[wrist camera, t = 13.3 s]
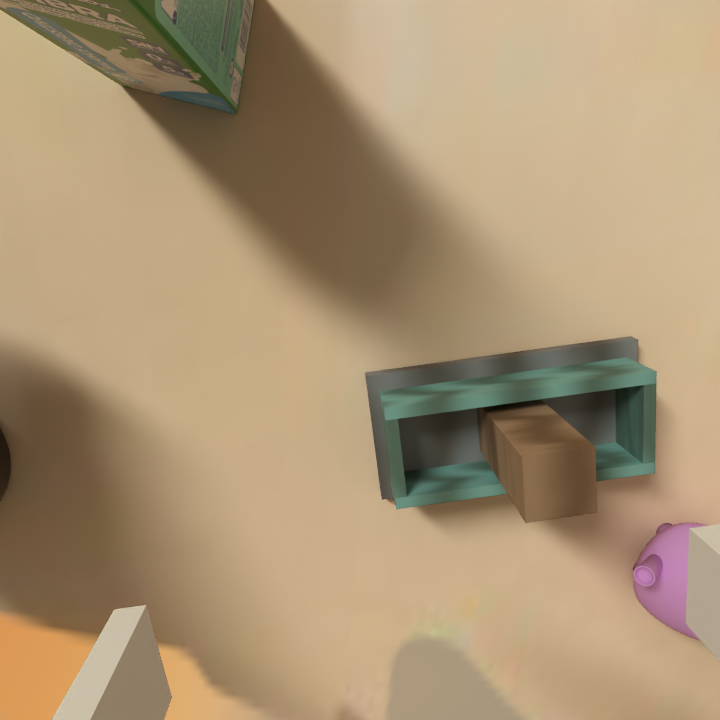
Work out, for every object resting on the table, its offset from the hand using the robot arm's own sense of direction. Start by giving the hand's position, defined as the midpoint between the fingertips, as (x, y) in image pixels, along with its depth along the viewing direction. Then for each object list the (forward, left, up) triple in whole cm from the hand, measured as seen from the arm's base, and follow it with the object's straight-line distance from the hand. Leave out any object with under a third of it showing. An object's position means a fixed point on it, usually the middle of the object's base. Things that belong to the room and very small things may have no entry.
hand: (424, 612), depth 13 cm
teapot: (+28, -27, -35) cm, 52 cm away
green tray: (+12, -10, -35) cm, 38 cm away
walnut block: (+12, -10, -34) cm, 37 cm away
